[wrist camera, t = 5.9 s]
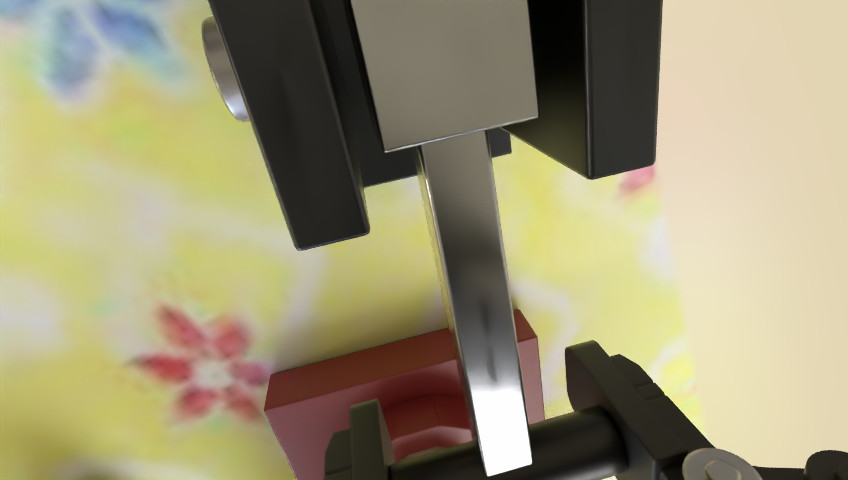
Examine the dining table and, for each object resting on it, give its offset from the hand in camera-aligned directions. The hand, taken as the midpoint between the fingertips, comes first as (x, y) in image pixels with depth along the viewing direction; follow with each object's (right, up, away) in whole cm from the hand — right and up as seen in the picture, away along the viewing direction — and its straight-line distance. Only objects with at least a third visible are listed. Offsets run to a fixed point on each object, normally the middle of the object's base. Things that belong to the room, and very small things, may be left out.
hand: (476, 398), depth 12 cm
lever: (-1, +4, -3) cm, 5 cm away
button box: (-2, -5, +11) cm, 13 cm away
